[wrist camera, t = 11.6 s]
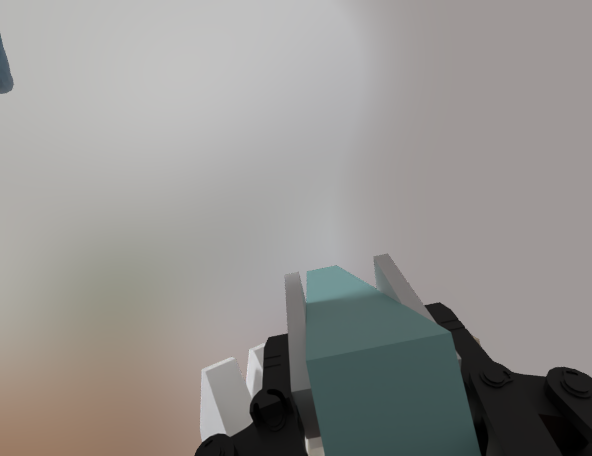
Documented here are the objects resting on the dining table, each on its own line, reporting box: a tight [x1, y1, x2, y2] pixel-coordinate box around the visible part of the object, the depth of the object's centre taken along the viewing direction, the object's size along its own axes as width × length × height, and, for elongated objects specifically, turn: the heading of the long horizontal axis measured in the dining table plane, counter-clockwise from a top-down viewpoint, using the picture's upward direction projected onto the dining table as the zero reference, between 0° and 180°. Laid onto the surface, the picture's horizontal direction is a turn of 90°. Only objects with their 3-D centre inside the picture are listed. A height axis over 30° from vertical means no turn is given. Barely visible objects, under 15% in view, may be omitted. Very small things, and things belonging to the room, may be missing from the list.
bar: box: [306, 266, 481, 456], centre depth 23 cm, size 4×30×4 cm, turn 178°
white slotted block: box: [200, 343, 323, 449], centre depth 54 cm, size 19×15×25 cm
